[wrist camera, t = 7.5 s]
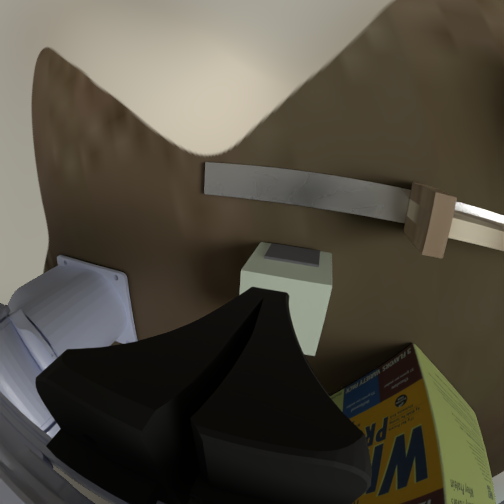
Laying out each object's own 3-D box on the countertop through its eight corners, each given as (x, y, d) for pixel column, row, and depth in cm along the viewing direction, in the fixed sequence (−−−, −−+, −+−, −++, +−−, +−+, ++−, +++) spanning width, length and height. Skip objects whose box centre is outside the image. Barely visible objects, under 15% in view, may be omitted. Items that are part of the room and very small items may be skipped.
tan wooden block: (403, 231, 15) (422, 254, 12) (412, 182, 14) (435, 192, 10) (532, 261, 13) (558, 283, 9) (542, 222, 11) (572, 239, 8)
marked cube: (255, 302, 20) (236, 340, 16) (261, 239, 18) (241, 267, 14) (319, 313, 19) (314, 356, 15) (332, 250, 17) (332, 282, 13)
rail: (206, 192, 18) (204, 193, 17) (207, 161, 17) (205, 162, 17) (542, 256, 12) (544, 258, 12) (548, 232, 12) (551, 233, 11)
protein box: (412, 338, 18) (448, 543, 4) (475, 411, 18) (500, 532, 4) (312, 403, 22) (276, 566, 8) (397, 455, 23) (393, 568, 9)
